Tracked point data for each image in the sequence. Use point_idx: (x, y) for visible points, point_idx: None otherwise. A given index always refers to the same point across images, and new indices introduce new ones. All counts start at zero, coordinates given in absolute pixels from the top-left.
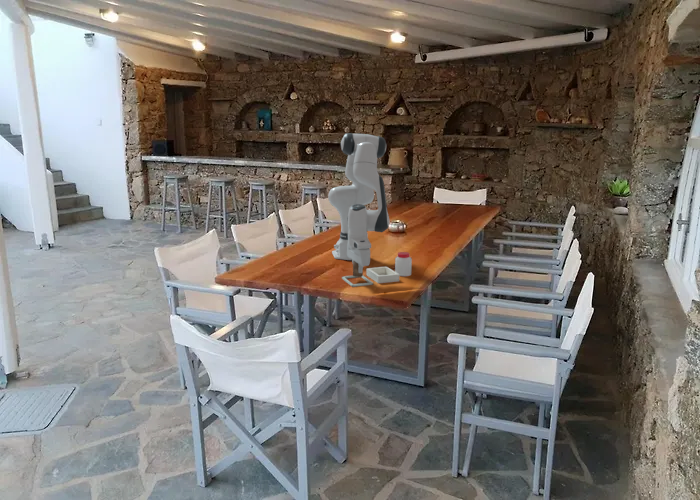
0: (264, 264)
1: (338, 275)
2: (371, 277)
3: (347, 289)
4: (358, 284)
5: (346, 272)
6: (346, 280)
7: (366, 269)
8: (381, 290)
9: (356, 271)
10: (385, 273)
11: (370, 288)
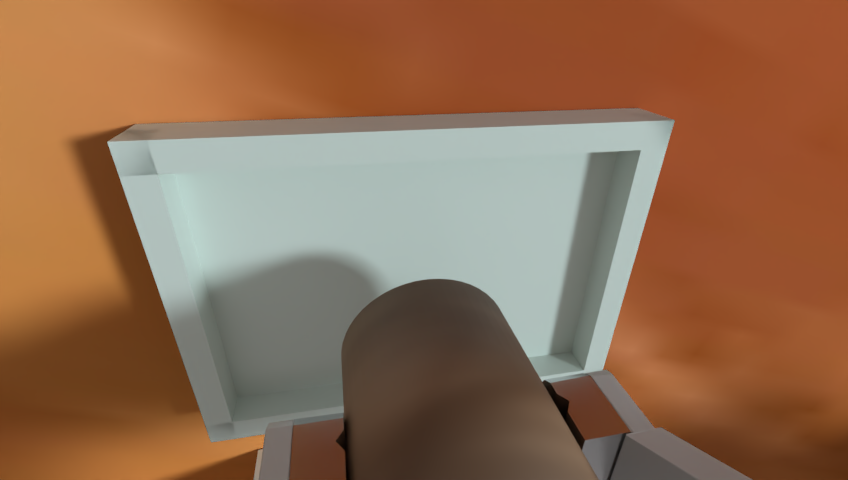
0: None
1: (829, 130)
2: None
3: (74, 16)
4: (148, 258)
5: (841, 253)
6: (440, 128)
7: None
8: (12, 454)
9: (362, 397)
10: None
11: (118, 364)
